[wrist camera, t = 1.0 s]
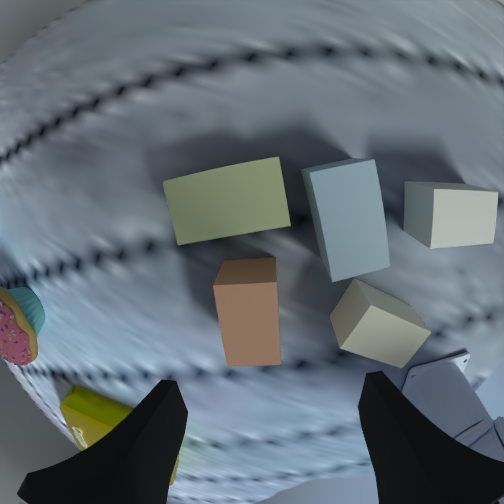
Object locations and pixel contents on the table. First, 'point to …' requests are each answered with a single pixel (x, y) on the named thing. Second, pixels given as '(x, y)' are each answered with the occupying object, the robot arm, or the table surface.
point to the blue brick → (348, 217)
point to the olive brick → (227, 201)
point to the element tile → (93, 417)
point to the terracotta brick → (248, 311)
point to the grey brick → (449, 213)
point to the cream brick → (377, 325)
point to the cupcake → (19, 325)
